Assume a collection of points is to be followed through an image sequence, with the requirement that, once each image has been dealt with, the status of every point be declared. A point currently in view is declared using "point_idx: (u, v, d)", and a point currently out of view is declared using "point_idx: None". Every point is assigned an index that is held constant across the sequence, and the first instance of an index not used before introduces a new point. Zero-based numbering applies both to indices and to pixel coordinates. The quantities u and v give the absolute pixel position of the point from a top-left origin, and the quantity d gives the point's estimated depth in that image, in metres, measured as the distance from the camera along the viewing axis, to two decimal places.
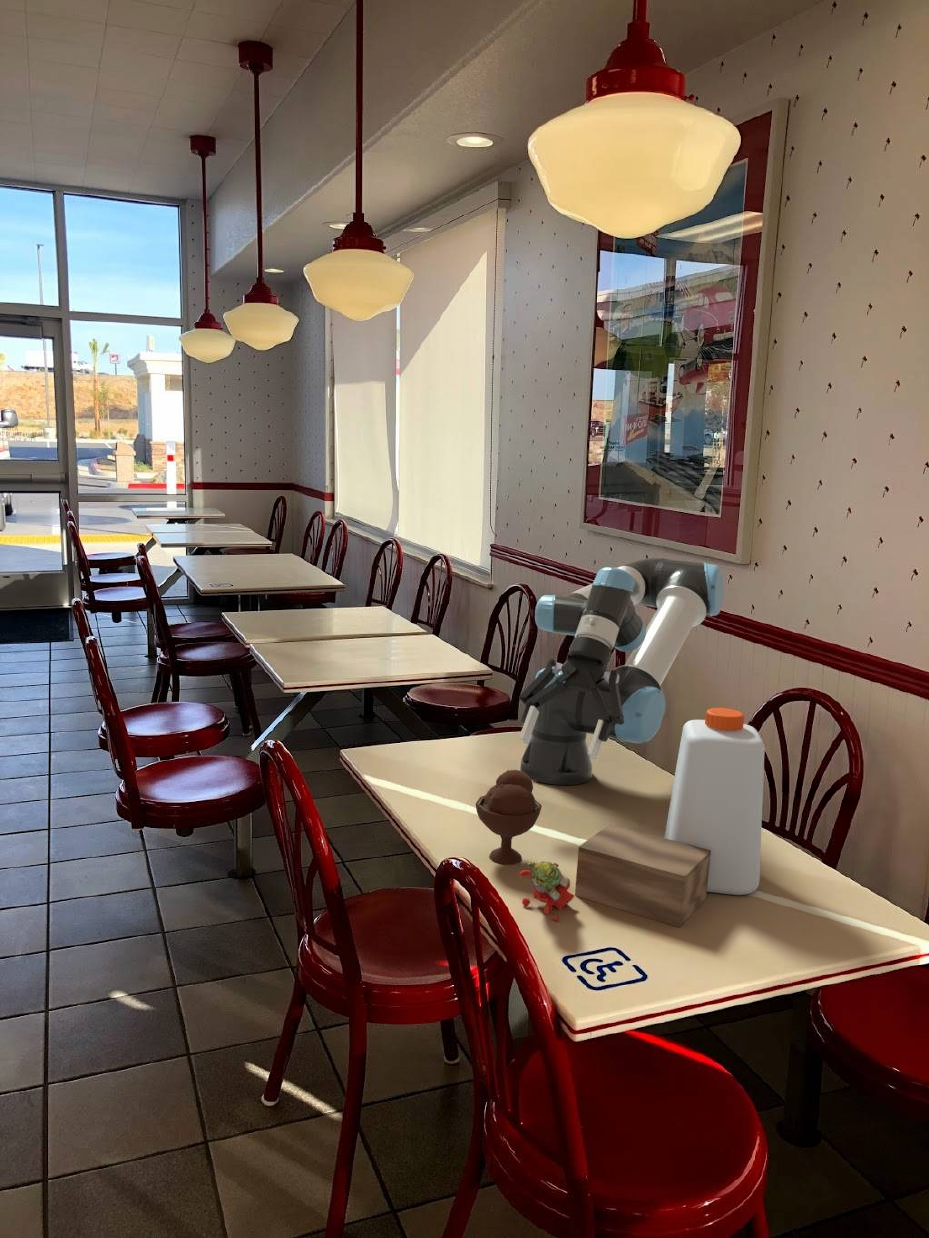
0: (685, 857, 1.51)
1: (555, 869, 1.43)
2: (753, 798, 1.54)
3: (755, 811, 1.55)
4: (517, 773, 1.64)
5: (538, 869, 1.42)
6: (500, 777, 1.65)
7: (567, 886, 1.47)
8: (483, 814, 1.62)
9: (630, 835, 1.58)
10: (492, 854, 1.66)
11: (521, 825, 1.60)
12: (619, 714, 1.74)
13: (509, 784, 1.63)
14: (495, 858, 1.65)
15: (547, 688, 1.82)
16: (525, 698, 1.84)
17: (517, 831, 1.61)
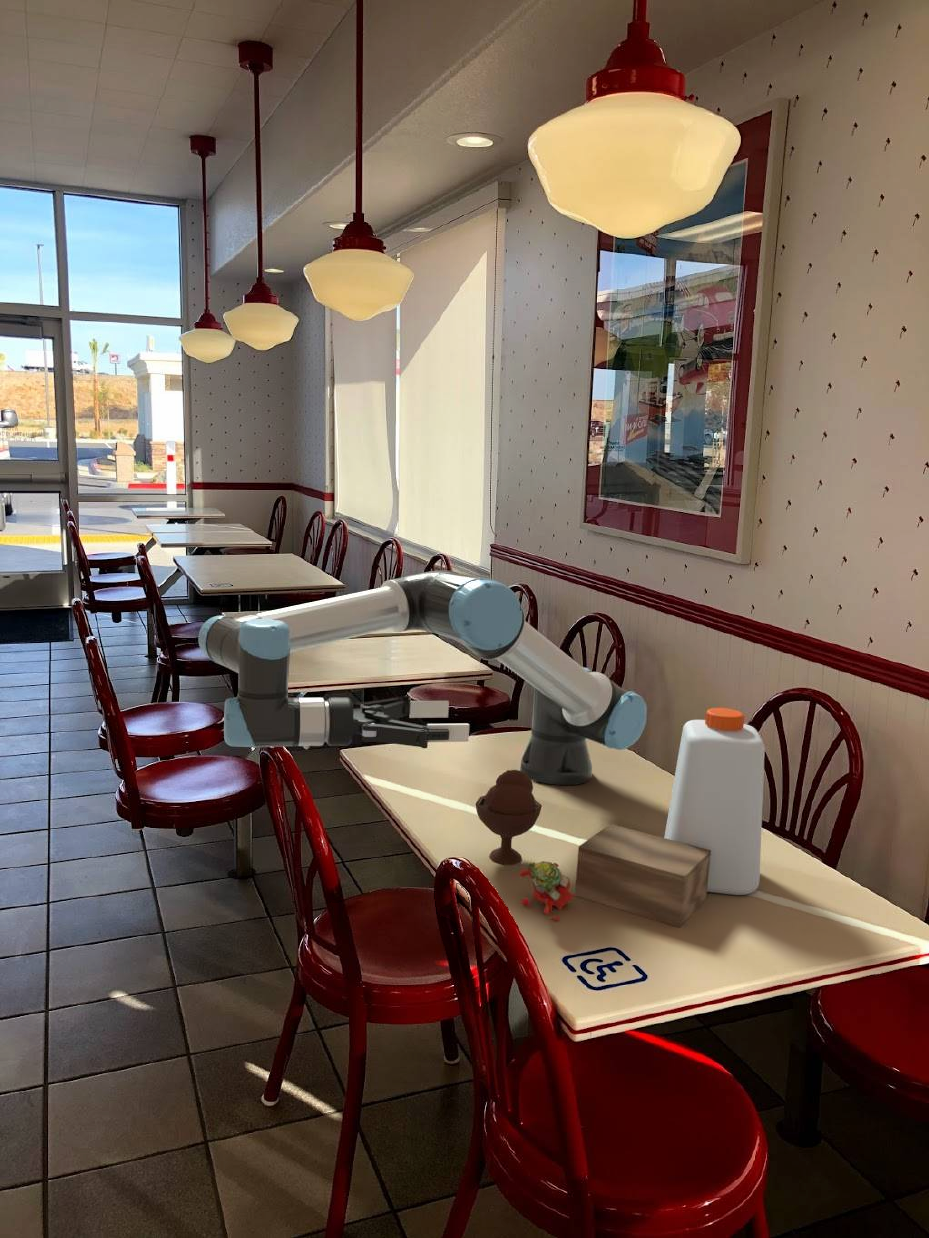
0: (685, 857, 1.51)
1: (555, 869, 1.43)
2: (753, 798, 1.54)
3: (755, 811, 1.55)
4: (517, 773, 1.64)
5: (538, 869, 1.42)
6: (500, 777, 1.65)
7: (567, 886, 1.47)
8: (483, 814, 1.62)
9: (630, 835, 1.58)
10: (492, 854, 1.66)
11: (521, 825, 1.60)
12: (419, 746, 1.49)
13: (509, 784, 1.63)
14: (495, 858, 1.65)
15: None
16: None
17: (517, 831, 1.61)
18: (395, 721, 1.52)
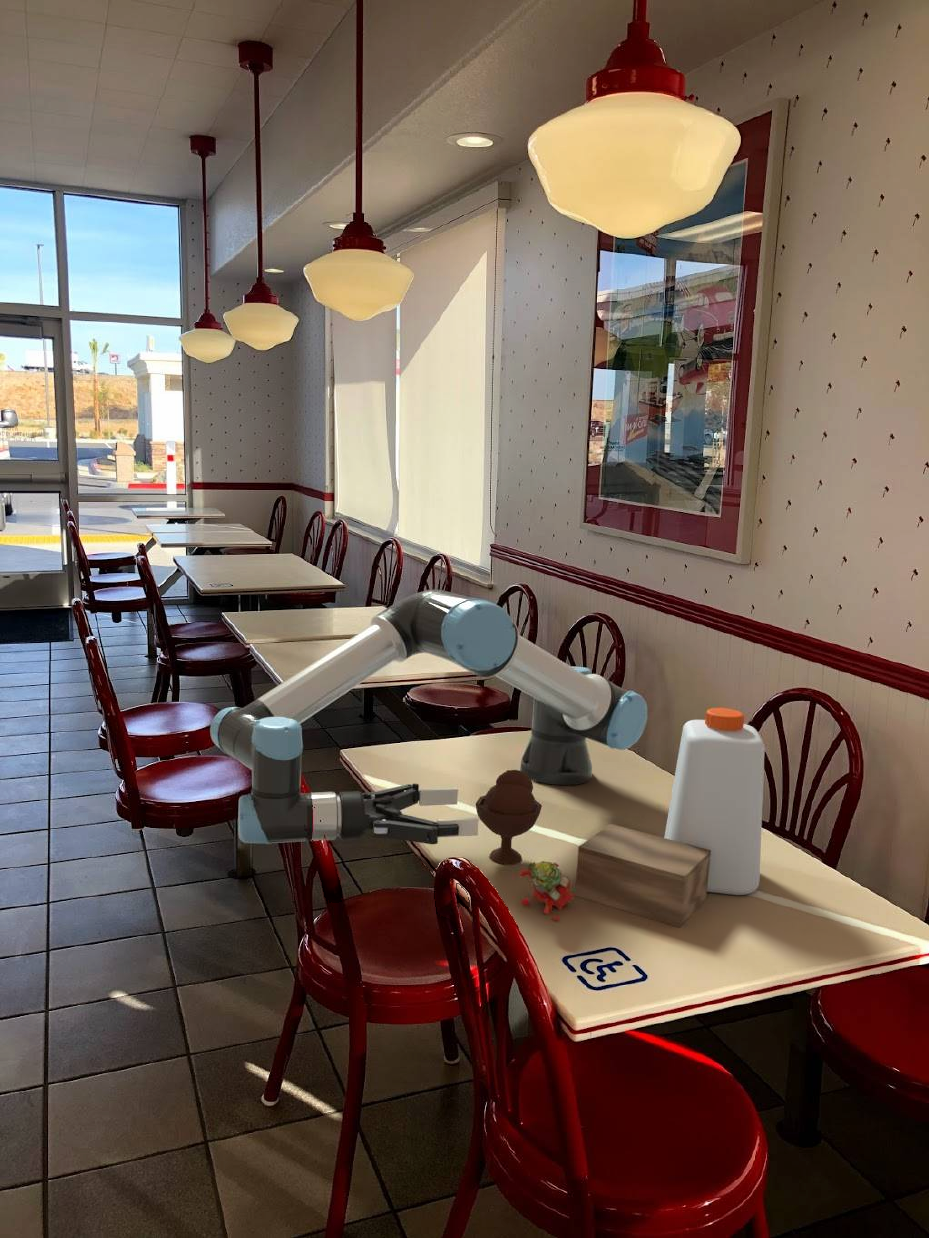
0: (685, 857, 1.51)
1: (555, 869, 1.43)
2: (753, 798, 1.54)
3: (755, 811, 1.55)
4: (517, 773, 1.64)
5: (538, 869, 1.42)
6: (500, 777, 1.65)
7: (567, 886, 1.47)
8: (483, 814, 1.62)
9: (630, 835, 1.58)
10: (492, 854, 1.66)
11: (521, 825, 1.60)
12: (430, 843, 1.52)
13: (509, 784, 1.63)
14: (495, 858, 1.65)
15: None
16: None
17: (517, 831, 1.61)
18: (406, 816, 1.56)
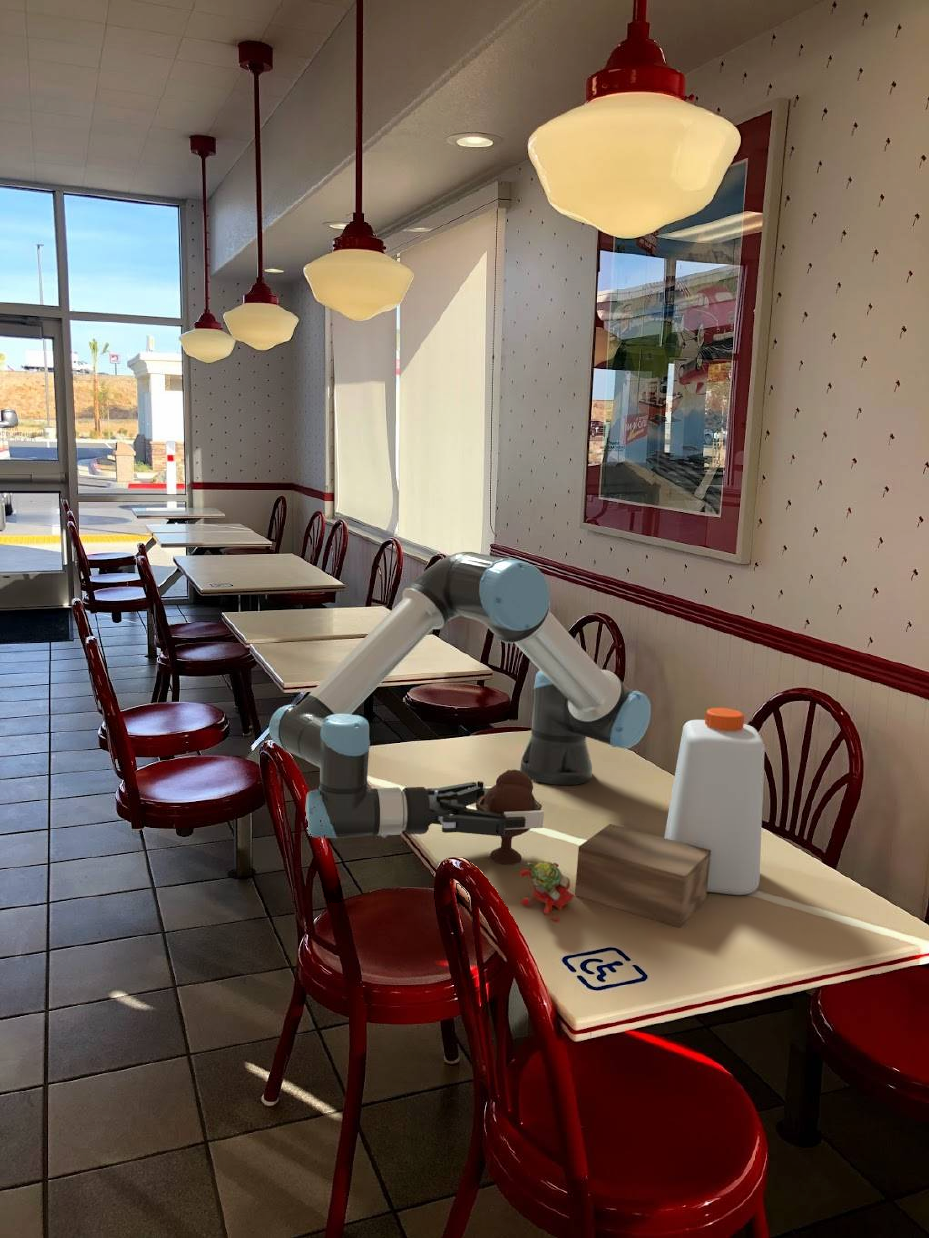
0: (685, 857, 1.51)
1: (555, 869, 1.43)
2: (753, 798, 1.54)
3: (755, 811, 1.55)
4: (518, 773, 1.64)
5: (538, 869, 1.42)
6: (500, 777, 1.65)
7: (567, 886, 1.47)
8: None
9: (630, 835, 1.58)
10: (492, 854, 1.66)
11: None
12: (498, 835, 1.55)
13: (509, 784, 1.63)
14: (495, 858, 1.64)
15: None
16: None
17: (517, 831, 1.61)
18: (471, 810, 1.59)
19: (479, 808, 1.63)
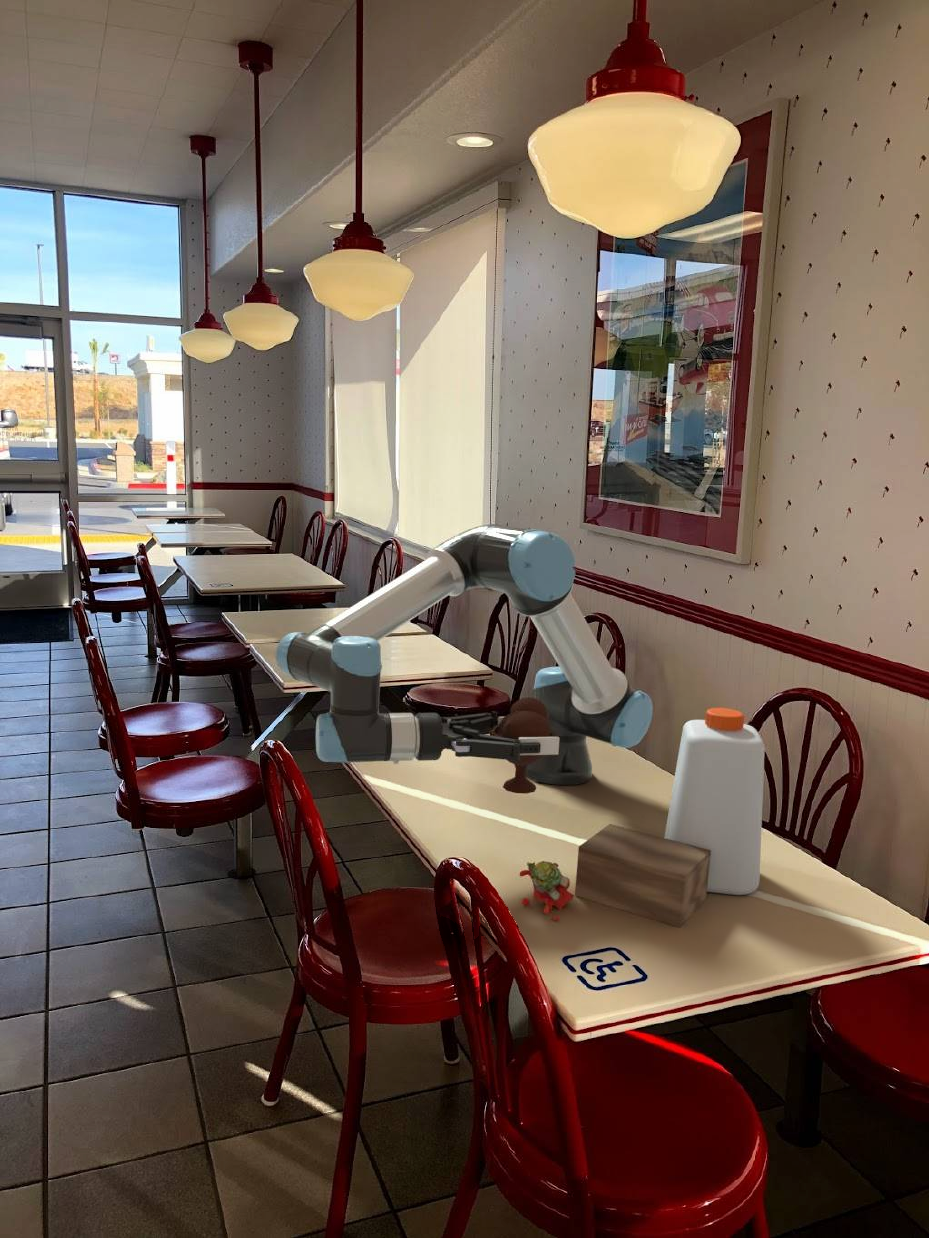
0: (685, 857, 1.51)
1: (555, 869, 1.43)
2: (753, 798, 1.54)
3: (755, 811, 1.55)
4: (532, 700, 1.60)
5: (538, 869, 1.42)
6: (514, 704, 1.61)
7: (567, 886, 1.47)
8: None
9: (630, 835, 1.58)
10: (506, 784, 1.62)
11: None
12: (513, 759, 1.52)
13: (524, 711, 1.59)
14: (509, 787, 1.61)
15: None
16: None
17: (532, 758, 1.57)
18: (485, 735, 1.55)
19: (493, 735, 1.59)
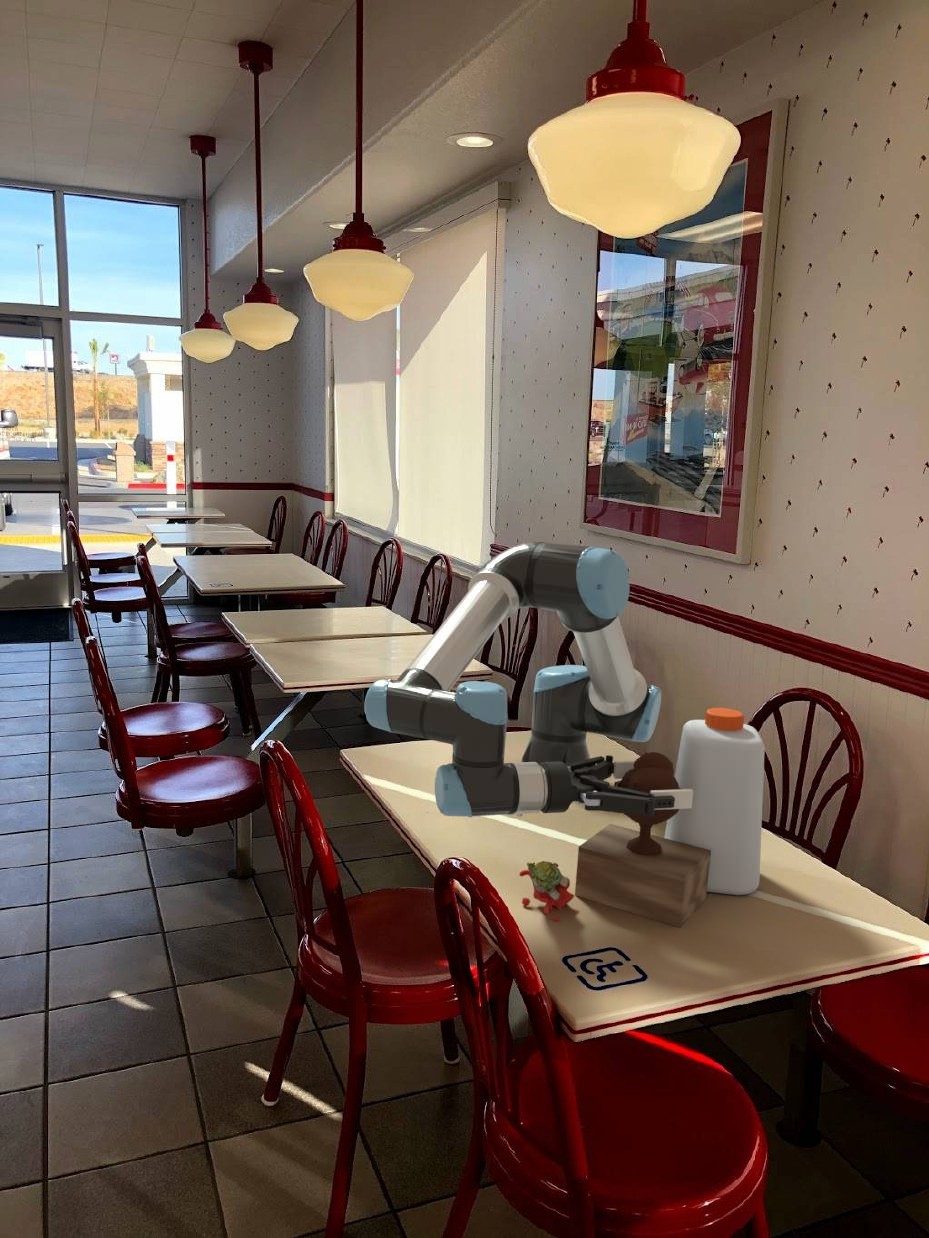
0: (685, 857, 1.51)
1: (555, 869, 1.43)
2: (753, 798, 1.54)
3: (755, 811, 1.55)
4: (658, 756, 1.51)
5: (538, 869, 1.42)
6: (639, 760, 1.52)
7: (567, 886, 1.47)
8: None
9: (630, 835, 1.58)
10: (630, 844, 1.53)
11: (666, 811, 1.47)
12: (647, 816, 1.41)
13: (650, 767, 1.49)
14: (635, 848, 1.51)
15: None
16: None
17: (661, 818, 1.48)
18: (615, 787, 1.45)
19: None
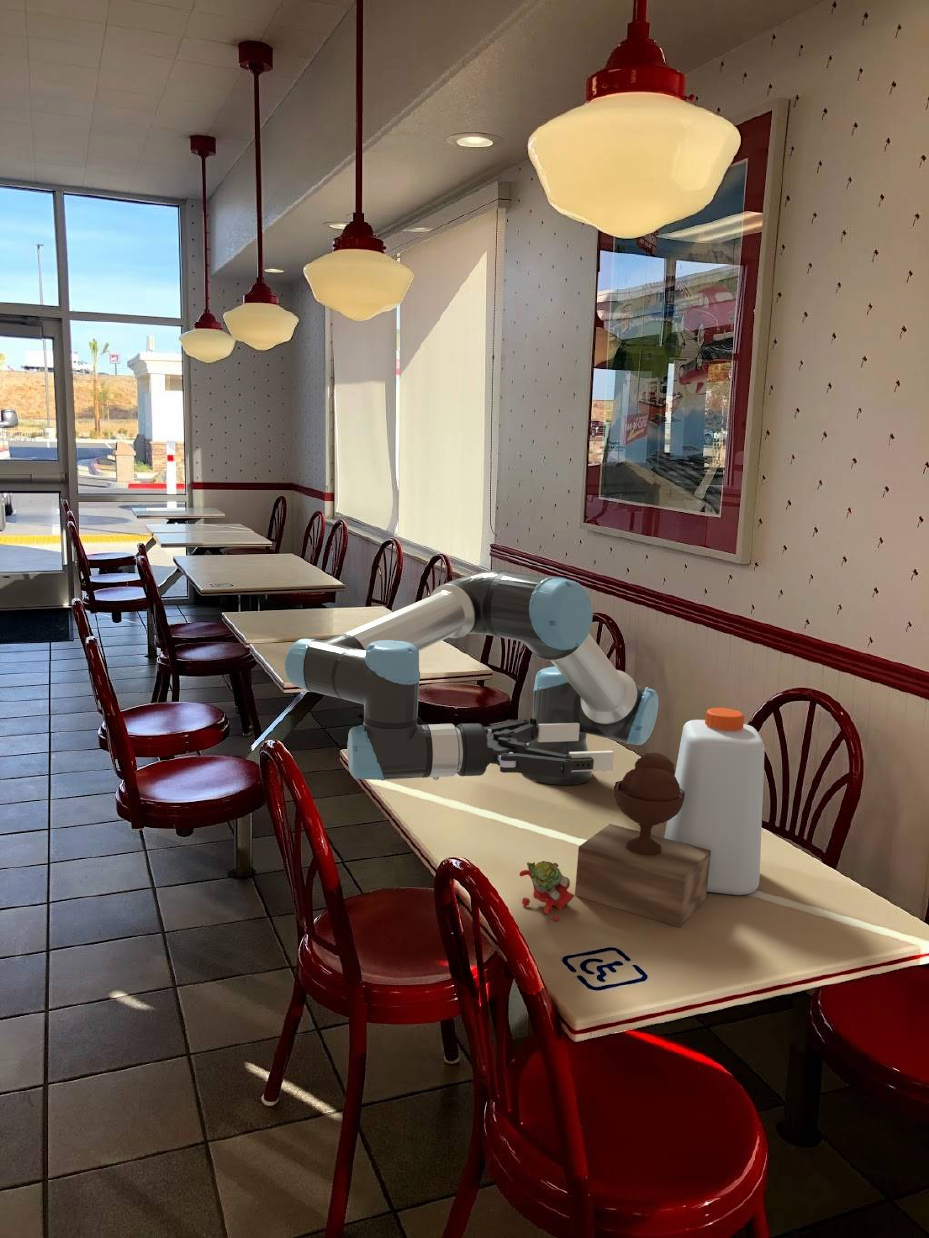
0: (685, 857, 1.51)
1: (555, 869, 1.43)
2: (753, 798, 1.54)
3: (755, 811, 1.55)
4: (659, 756, 1.51)
5: (538, 869, 1.43)
6: (640, 760, 1.51)
7: (567, 886, 1.47)
8: (624, 800, 1.49)
9: (630, 835, 1.58)
10: (630, 844, 1.53)
11: (667, 812, 1.47)
12: (564, 777, 1.36)
13: (652, 768, 1.49)
14: (634, 848, 1.51)
15: None
16: None
17: (662, 819, 1.48)
18: (533, 749, 1.40)
19: (618, 794, 1.50)
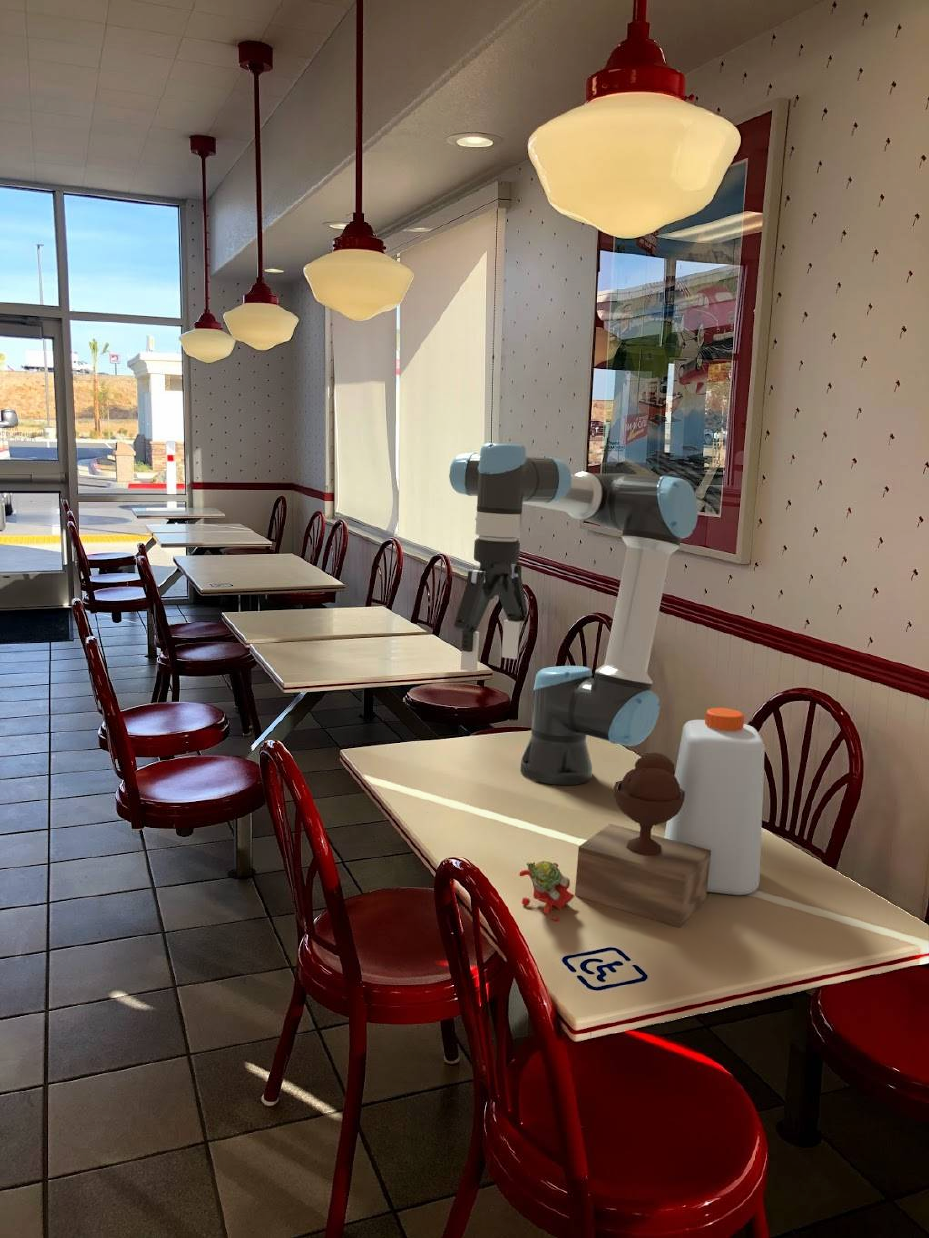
0: (685, 857, 1.51)
1: (555, 869, 1.43)
2: (753, 798, 1.54)
3: (755, 811, 1.55)
4: (659, 756, 1.51)
5: (538, 869, 1.43)
6: (640, 760, 1.51)
7: (567, 886, 1.47)
8: (624, 800, 1.49)
9: (630, 835, 1.58)
10: (630, 844, 1.53)
11: (667, 812, 1.47)
12: (455, 622, 1.58)
13: (652, 768, 1.49)
14: (634, 848, 1.51)
15: None
16: None
17: (662, 819, 1.48)
18: (486, 602, 1.61)
19: (619, 794, 1.50)
